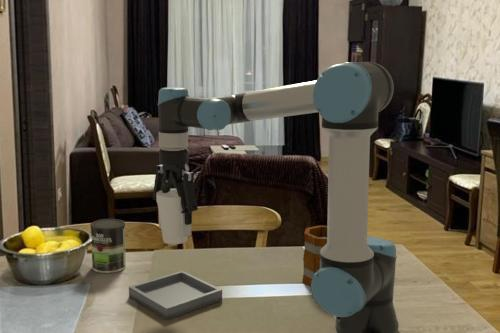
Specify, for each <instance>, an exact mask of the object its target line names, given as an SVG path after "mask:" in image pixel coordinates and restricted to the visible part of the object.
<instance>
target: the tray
mask: <svg viewBox="0 0 500 333" xmlns="http://www.w3.org/2000/svg"><path fill="white" fill-rule="evenodd" d="M128 297H129V298H130V299H131V300H133V301H134V302H136V303H138V304H140V305H141V306H143V307H144V308H147V309H149V311H152V312H153V313H155V314H156V315H158V316H160V317H162V318H163V319H165V320H171V319H173V318H176V317H179V316H181V315H185V314H187V313H189V312H193V311H195V310H198V309H201V308H203V307H206V306H209V305H212V304H214V303H215V304H216V303H218V302H221V301H223V289H221V288H220V287H217V286H215V285H213V284H211V283H209V282H207V281H205V280H203V279H201V278H199V277H196V275H195V276H194V275H193V274H191V273H189V272H186V271H184V270H180V271H176V272H174V273H170V274H167V275H164V276H160V277H157V278H153V279H150V280H147V281H146V280H145V281H144V282H139V283H137V284H133V285H130V286H128Z"/></svg>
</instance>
